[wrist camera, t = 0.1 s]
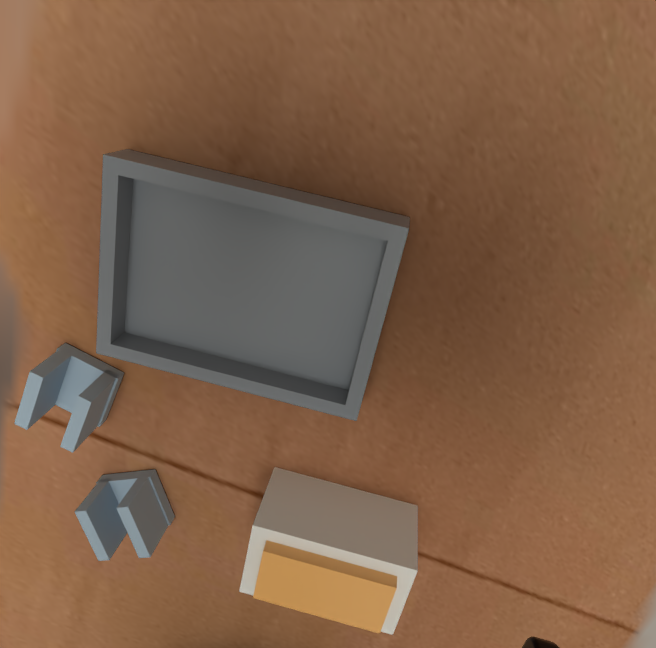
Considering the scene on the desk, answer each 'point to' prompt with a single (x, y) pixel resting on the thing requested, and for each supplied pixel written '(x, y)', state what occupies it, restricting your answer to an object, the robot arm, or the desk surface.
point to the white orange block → (332, 551)
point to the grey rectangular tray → (243, 281)
